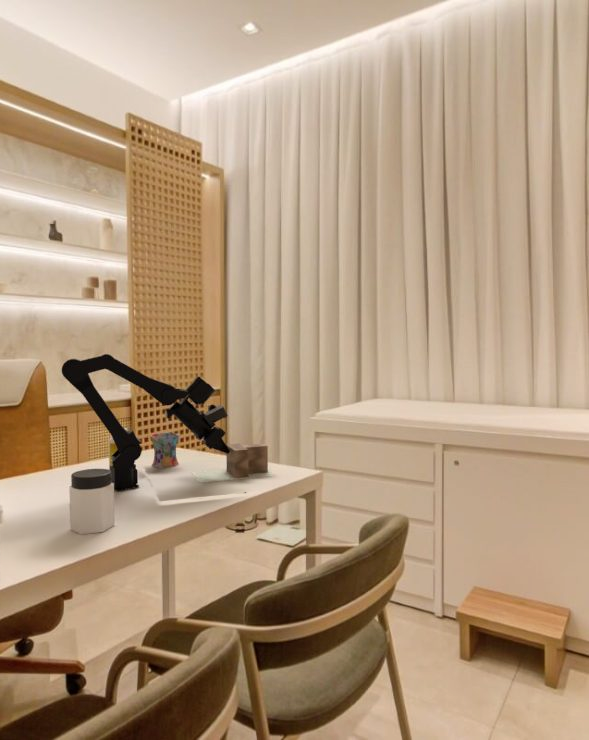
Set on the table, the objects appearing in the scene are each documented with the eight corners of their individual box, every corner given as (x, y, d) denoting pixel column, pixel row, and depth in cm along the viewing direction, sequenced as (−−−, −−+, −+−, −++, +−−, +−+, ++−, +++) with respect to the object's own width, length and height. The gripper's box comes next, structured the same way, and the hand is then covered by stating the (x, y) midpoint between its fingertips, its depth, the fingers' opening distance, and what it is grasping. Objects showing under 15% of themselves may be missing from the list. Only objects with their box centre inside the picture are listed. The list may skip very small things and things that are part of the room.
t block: (235, 478, 155) (234, 450, 155) (226, 470, 164) (226, 444, 164) (271, 474, 159) (271, 447, 158) (260, 467, 168) (260, 442, 168)
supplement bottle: (132, 470, 169) (131, 429, 169) (109, 472, 167) (109, 431, 166) (130, 465, 176) (129, 426, 175) (108, 467, 173) (107, 428, 173)
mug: (175, 471, 168) (174, 437, 167) (146, 471, 168) (145, 437, 168) (185, 463, 180) (185, 431, 179) (158, 462, 180) (158, 431, 180)
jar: (120, 527, 116) (119, 472, 115) (84, 537, 110) (82, 479, 109) (100, 518, 122) (99, 466, 121) (65, 527, 116) (63, 472, 116)
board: (199, 486, 150) (199, 482, 150) (191, 475, 162) (191, 472, 162) (276, 478, 158) (276, 475, 158) (262, 469, 170) (262, 466, 170)
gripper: (217, 399, 148) (256, 436, 152) (203, 394, 165) (238, 427, 170) (189, 429, 145) (229, 466, 150) (178, 420, 163) (214, 454, 167)
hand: (228, 452), depth 159 cm, fingers closed
